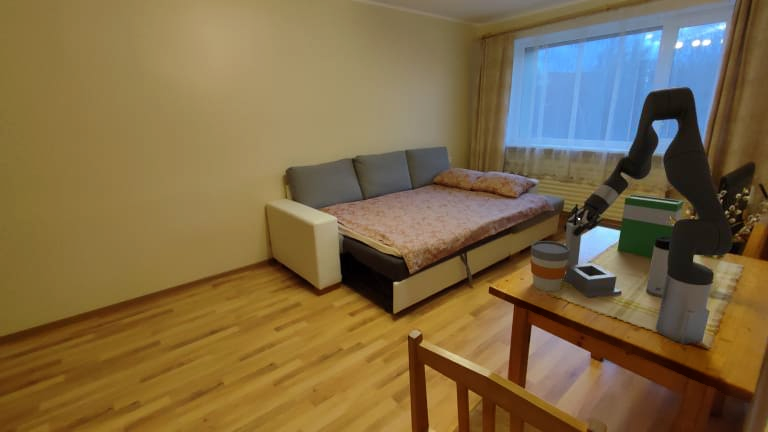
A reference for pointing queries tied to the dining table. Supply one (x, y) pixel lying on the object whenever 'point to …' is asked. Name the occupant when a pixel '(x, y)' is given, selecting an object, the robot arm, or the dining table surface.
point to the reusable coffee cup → (548, 264)
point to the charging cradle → (591, 280)
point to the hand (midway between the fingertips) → (569, 232)
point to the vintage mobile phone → (573, 241)
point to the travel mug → (658, 267)
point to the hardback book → (646, 223)
